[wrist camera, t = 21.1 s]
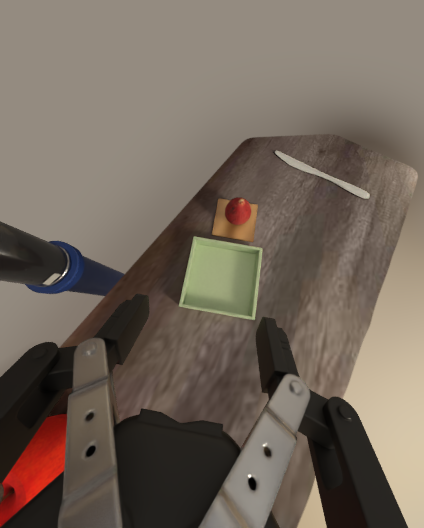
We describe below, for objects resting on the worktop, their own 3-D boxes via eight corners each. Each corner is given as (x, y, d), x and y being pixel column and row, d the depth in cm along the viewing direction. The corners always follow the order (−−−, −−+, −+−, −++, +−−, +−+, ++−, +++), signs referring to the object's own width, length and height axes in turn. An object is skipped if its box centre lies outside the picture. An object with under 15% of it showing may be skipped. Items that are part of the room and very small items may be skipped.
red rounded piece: (229, 234, 42) (234, 217, 35) (219, 213, 44) (222, 193, 36) (251, 225, 43) (260, 207, 35) (241, 206, 44) (248, 184, 37)
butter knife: (367, 202, 45) (371, 193, 46) (272, 155, 49) (277, 147, 49) (365, 203, 46) (369, 194, 46) (271, 157, 49) (276, 149, 50)
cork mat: (211, 235, 43) (211, 234, 42) (218, 199, 45) (218, 198, 45) (252, 242, 42) (253, 241, 42) (257, 205, 45) (257, 204, 45)
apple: (75, 491, 30) (-24, 626, 17) (24, 448, 32) (-103, 544, 19) (119, 420, 33) (62, 491, 20) (71, 383, 34) (-12, 428, 21)
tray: (181, 306, 38) (178, 306, 35) (194, 241, 42) (193, 236, 39) (250, 319, 38) (254, 320, 35) (258, 252, 42) (262, 248, 39)
